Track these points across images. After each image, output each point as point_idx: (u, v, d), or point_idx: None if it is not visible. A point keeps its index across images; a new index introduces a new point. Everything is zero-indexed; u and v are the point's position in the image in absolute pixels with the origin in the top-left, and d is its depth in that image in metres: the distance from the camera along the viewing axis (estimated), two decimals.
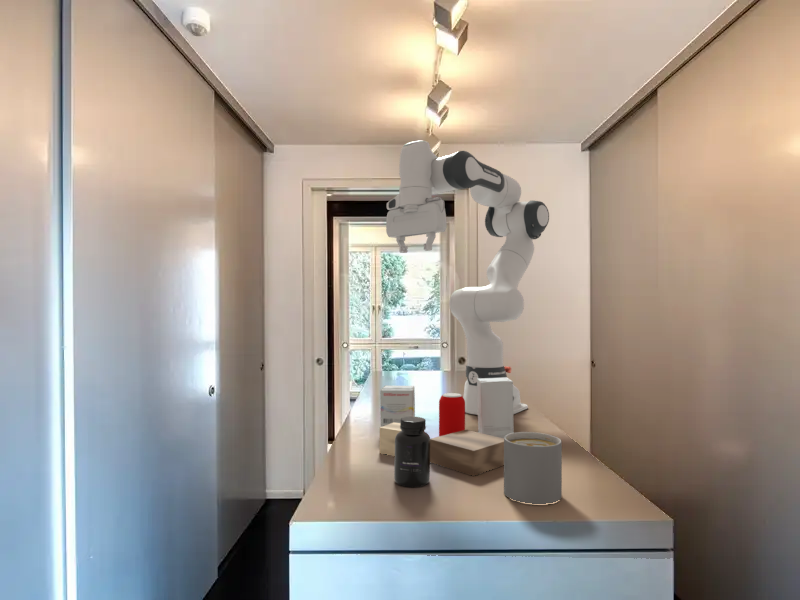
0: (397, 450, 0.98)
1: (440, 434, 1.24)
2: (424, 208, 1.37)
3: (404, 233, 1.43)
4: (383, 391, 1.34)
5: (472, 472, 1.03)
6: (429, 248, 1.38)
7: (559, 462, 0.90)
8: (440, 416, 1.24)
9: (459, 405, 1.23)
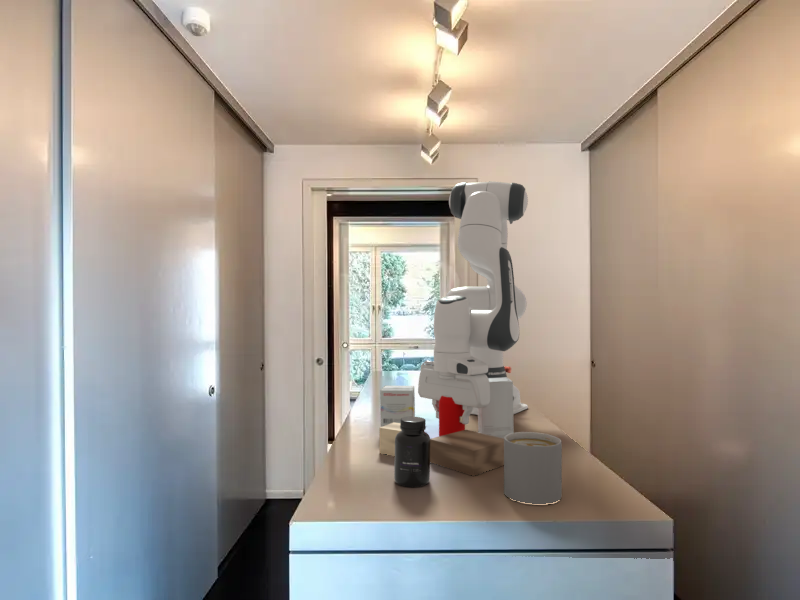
0: (397, 450, 0.98)
1: (440, 434, 1.24)
2: None
3: None
4: (383, 391, 1.34)
5: (472, 472, 1.03)
6: None
7: (559, 462, 0.90)
8: (440, 416, 1.24)
9: (459, 405, 1.23)
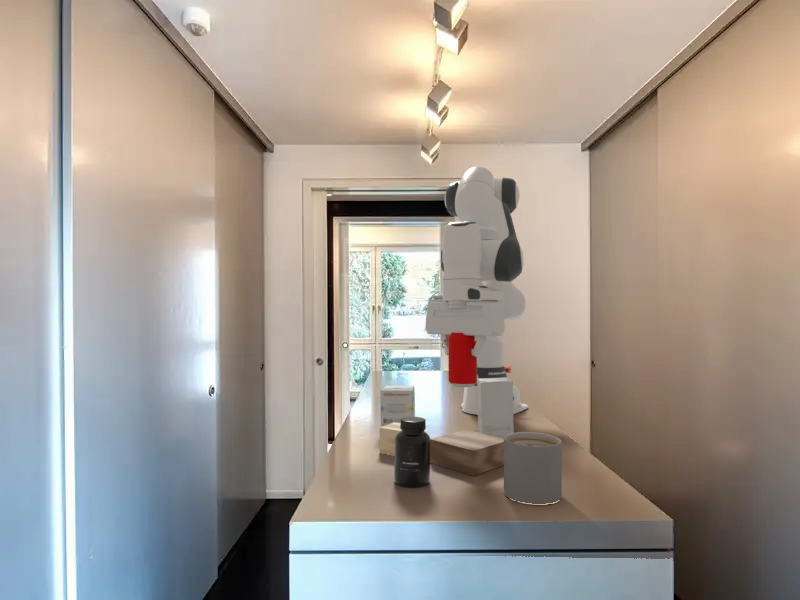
0: (397, 450, 0.98)
1: (450, 374, 1.14)
2: None
3: None
4: (383, 391, 1.34)
5: (472, 472, 1.03)
6: None
7: (559, 462, 0.90)
8: (450, 354, 1.14)
9: (471, 341, 1.13)
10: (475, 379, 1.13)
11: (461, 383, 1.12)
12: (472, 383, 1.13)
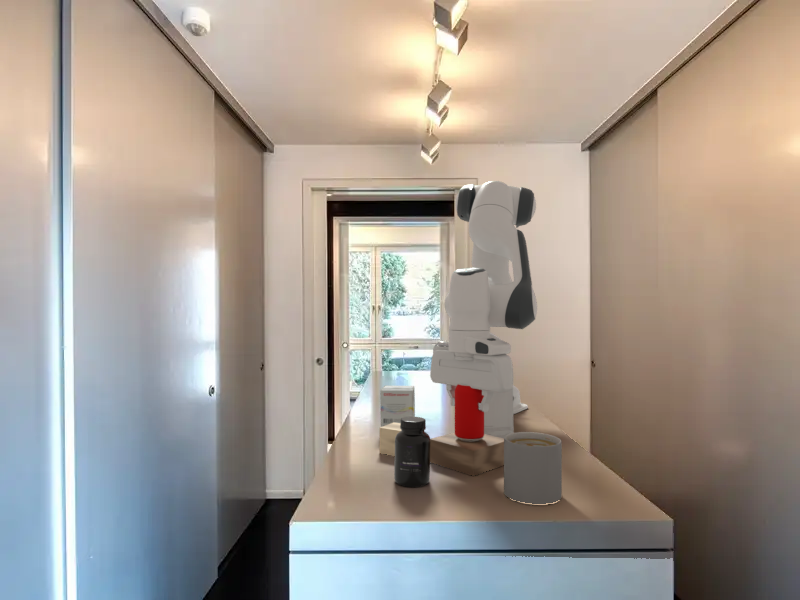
0: (397, 450, 0.98)
1: (456, 427, 1.10)
2: None
3: None
4: (383, 391, 1.34)
5: (472, 472, 1.03)
6: None
7: (559, 462, 0.90)
8: (456, 407, 1.10)
9: (478, 394, 1.09)
10: (482, 433, 1.10)
11: (468, 438, 1.08)
12: (479, 438, 1.09)
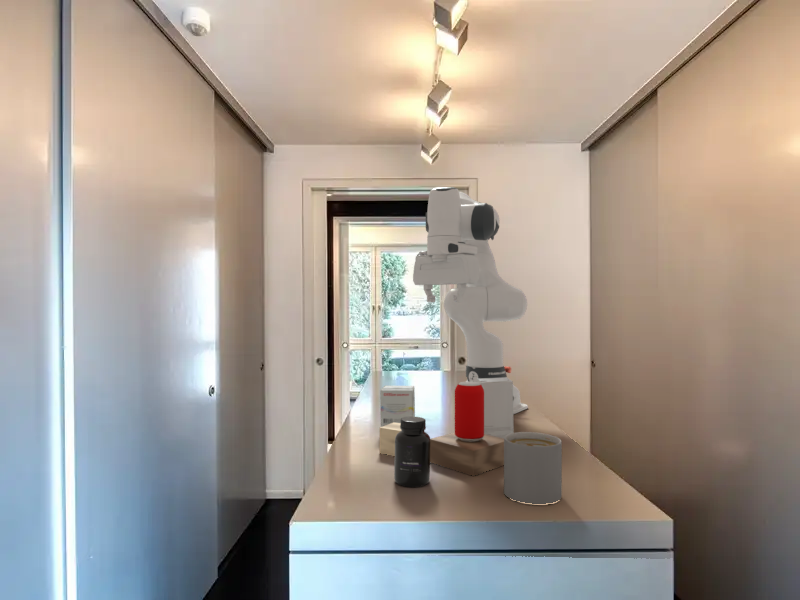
0: (397, 450, 0.98)
1: (456, 427, 1.10)
2: None
3: None
4: (383, 391, 1.34)
5: (472, 472, 1.03)
6: None
7: (559, 462, 0.90)
8: (456, 407, 1.10)
9: (478, 394, 1.09)
10: (482, 433, 1.10)
11: (468, 438, 1.08)
12: (479, 438, 1.09)
